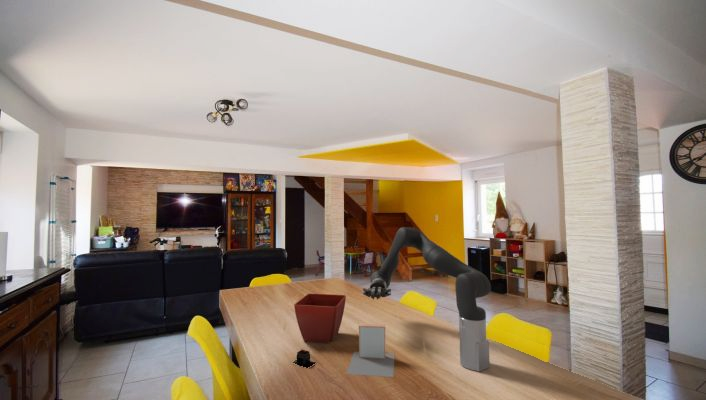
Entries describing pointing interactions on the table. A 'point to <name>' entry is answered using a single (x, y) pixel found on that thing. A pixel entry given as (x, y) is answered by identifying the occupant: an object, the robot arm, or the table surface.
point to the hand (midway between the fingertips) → (375, 296)
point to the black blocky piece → (303, 359)
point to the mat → (372, 366)
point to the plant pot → (320, 316)
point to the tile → (372, 341)
